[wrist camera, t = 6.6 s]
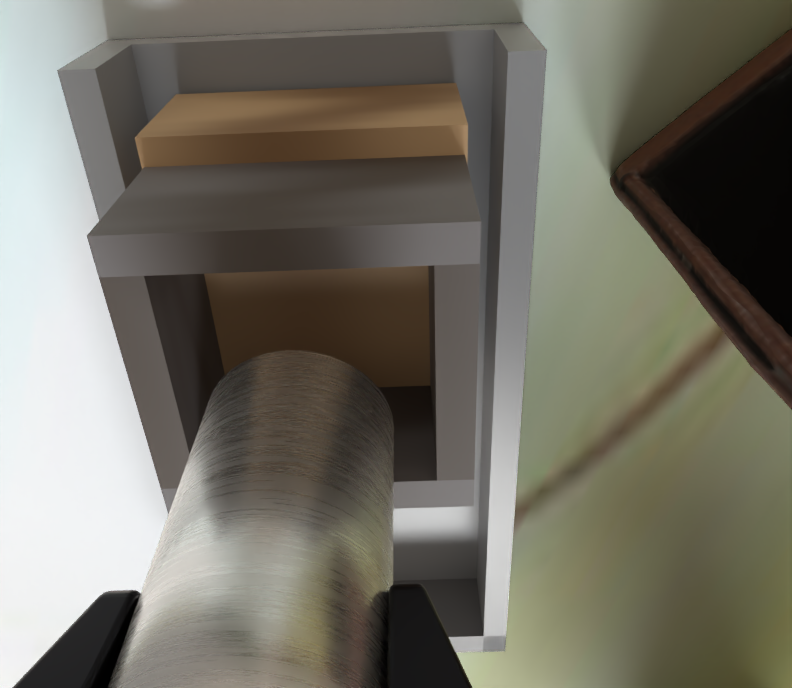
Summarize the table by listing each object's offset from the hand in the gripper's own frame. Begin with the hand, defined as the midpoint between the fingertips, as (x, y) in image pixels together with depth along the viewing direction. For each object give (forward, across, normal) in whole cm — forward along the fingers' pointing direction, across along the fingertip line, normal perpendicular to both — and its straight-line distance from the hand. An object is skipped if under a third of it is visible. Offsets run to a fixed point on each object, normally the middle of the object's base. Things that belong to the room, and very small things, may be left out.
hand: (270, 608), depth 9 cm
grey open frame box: (+11, 0, 0) cm, 11 cm away
